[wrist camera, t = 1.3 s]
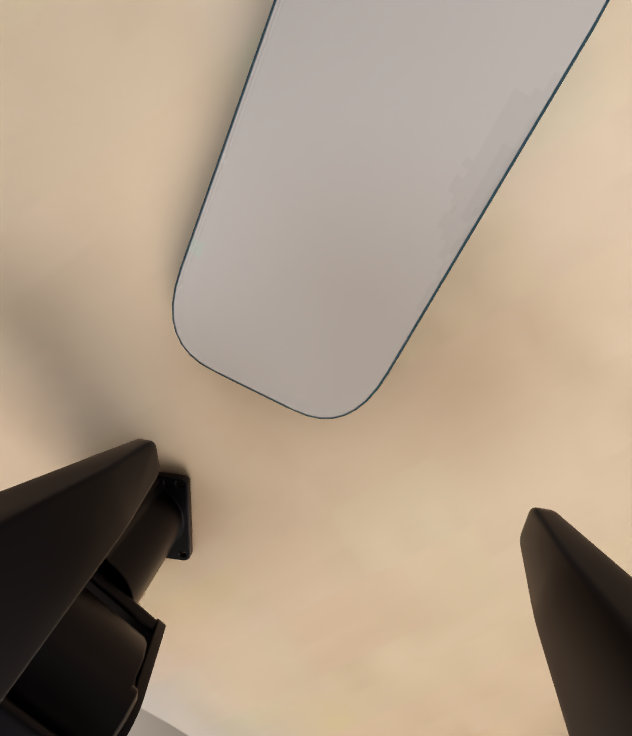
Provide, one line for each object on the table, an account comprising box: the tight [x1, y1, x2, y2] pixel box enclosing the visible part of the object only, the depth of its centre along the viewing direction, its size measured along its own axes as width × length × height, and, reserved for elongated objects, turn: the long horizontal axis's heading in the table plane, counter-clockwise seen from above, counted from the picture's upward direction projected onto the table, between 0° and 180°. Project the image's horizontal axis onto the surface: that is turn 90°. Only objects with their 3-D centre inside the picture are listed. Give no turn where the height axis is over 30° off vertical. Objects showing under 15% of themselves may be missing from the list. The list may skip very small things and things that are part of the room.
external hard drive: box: [172, 0, 609, 419], centre depth 16 cm, size 24×12×2 cm, turn 154°
